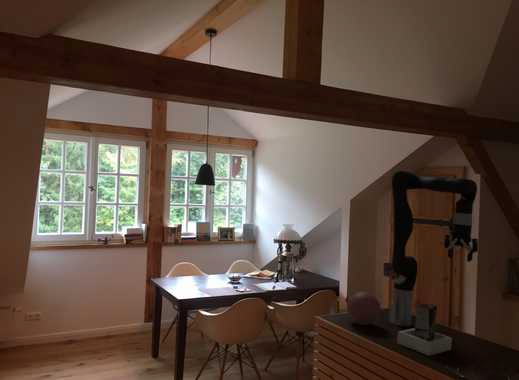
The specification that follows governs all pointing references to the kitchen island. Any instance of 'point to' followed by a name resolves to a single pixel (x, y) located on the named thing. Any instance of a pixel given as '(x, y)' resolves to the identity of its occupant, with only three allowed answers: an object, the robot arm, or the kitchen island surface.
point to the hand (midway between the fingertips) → (459, 259)
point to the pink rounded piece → (363, 308)
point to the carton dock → (424, 342)
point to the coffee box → (425, 322)
